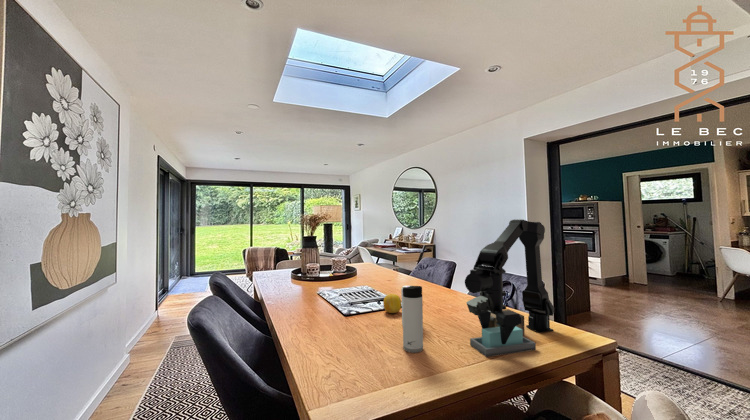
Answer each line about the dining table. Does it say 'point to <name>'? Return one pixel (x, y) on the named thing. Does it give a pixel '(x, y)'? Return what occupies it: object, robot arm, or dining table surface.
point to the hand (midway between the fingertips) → (493, 338)
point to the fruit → (392, 303)
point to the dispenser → (493, 321)
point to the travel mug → (412, 319)
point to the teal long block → (493, 337)
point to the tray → (502, 347)
